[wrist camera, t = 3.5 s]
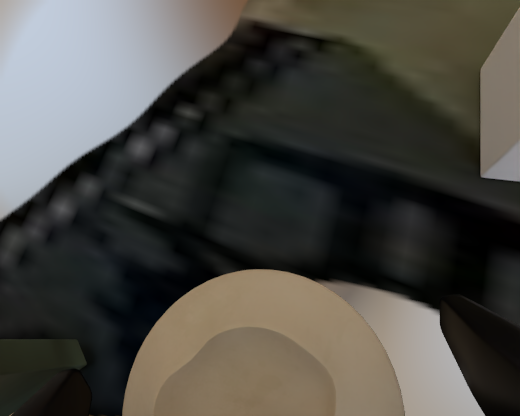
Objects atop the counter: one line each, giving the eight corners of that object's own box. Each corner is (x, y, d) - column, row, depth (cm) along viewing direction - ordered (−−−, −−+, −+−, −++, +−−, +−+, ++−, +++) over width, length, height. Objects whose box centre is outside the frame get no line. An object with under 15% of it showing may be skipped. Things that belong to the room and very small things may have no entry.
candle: (341, 472, 14) (406, 748, 5) (202, 428, 15) (22, 575, 6) (364, 321, 15) (448, 293, 6) (237, 290, 17) (143, 227, 7)
